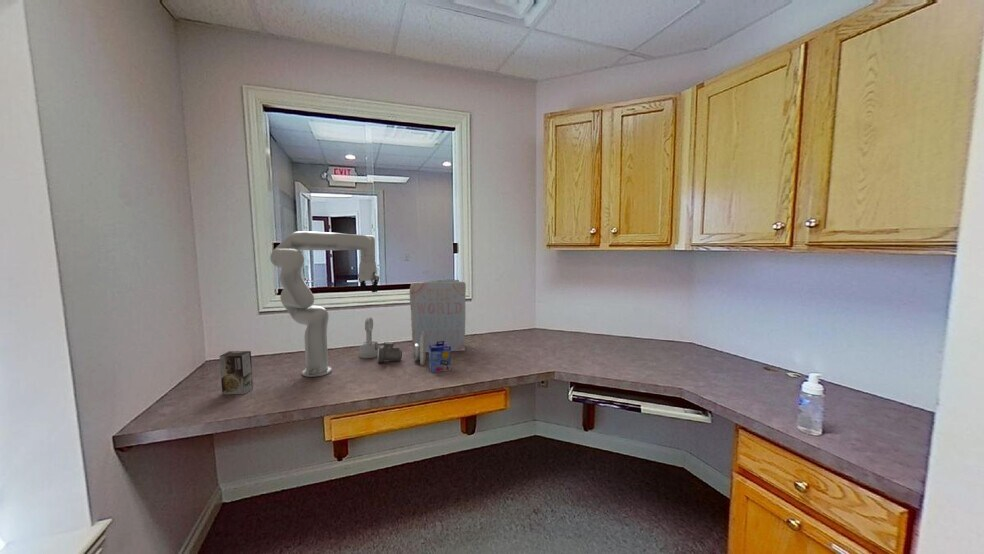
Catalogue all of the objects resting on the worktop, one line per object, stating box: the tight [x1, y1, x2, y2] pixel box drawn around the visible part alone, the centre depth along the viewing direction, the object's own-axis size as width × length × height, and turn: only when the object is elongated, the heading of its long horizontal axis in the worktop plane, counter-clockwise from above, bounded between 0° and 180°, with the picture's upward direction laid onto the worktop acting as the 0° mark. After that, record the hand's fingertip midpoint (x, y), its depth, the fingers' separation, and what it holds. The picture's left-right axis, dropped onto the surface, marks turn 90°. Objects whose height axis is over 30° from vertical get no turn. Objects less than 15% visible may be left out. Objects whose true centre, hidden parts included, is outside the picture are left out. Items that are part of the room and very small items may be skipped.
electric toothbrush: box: [358, 316, 379, 359], centre depth 208 cm, size 11×20×10 cm
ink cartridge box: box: [428, 341, 452, 373], centre depth 185 cm, size 10×6×14 cm, turn 111°
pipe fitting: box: [377, 341, 403, 363], centre depth 198 cm, size 12×8×10 cm
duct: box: [413, 331, 427, 366], centre depth 199 cm, size 14×5×14 cm, turn 5°
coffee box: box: [218, 350, 254, 395], centre depth 157 cm, size 9×6×16 cm
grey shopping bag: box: [408, 279, 467, 354], centre depth 222 cm, size 17×31×40 cm, turn 101°
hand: (368, 291), depth 205 cm, fingers open, 9 cm apart
